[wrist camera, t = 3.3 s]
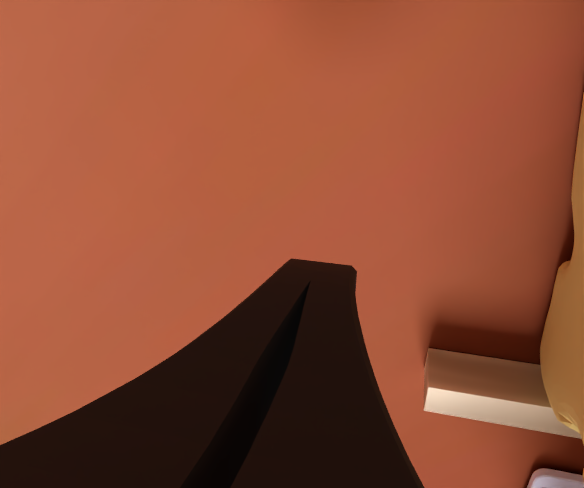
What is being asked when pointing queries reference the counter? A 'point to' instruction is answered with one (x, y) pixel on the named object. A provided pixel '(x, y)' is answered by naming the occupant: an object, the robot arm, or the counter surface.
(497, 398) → the lane rails
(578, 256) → the cheese
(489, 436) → the counter surface
